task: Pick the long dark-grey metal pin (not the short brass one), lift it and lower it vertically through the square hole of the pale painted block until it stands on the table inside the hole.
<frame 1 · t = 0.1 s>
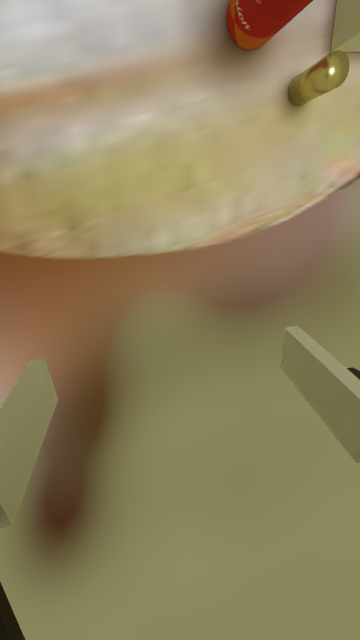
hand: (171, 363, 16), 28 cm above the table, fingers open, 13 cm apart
short pin: (299, 90, 35), on the table
paper cup: (249, 19, 32), on the table
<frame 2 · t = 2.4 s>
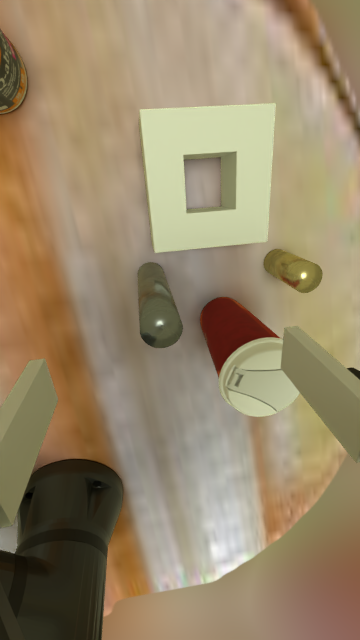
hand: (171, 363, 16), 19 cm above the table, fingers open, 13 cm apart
short pin: (275, 261, 34), on the table
paper cup: (221, 316, 36), on the table
hole block: (199, 184, 29), on the table
long pin: (150, 275, 33), on the table
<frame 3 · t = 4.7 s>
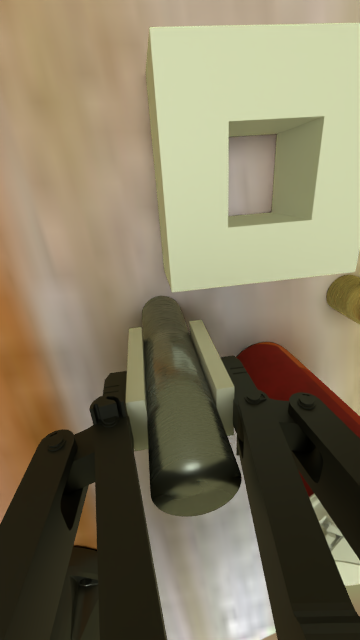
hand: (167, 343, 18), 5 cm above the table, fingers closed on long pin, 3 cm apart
short pin: (343, 292, 23), on the table
paper cup: (260, 367, 26), on the table
hole block: (240, 177, 18), on the table
long pin: (161, 314, 22), on the table, touching gripper
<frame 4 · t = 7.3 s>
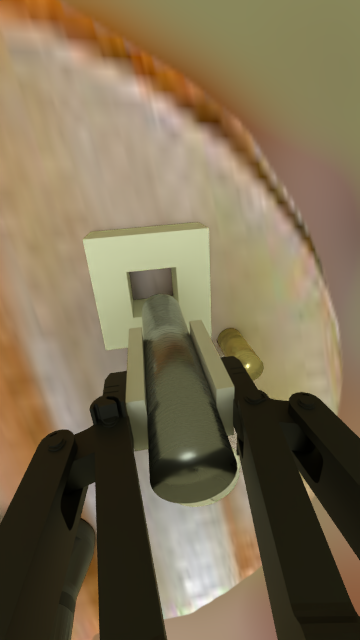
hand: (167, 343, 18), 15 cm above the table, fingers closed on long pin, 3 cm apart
short pin: (229, 338, 36), on the table
paper cup: (180, 386, 39), on the table
hole block: (151, 278, 32), on the table
long pin: (161, 311, 22), point 10 cm above the table, touching gripper
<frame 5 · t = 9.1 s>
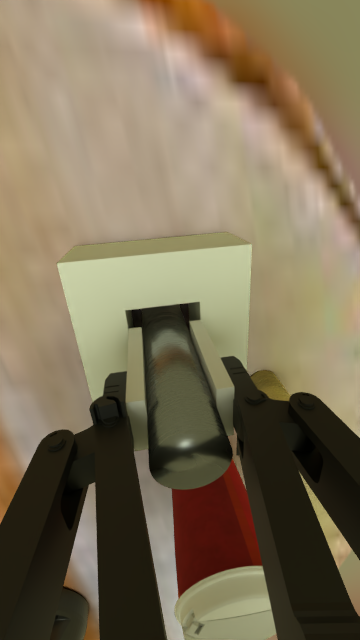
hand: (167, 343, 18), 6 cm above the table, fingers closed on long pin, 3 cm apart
short pin: (261, 383, 28), on the table
paper cup: (196, 440, 30), on the table
hole block: (160, 308, 23), on the table
long pin: (160, 309, 23), resting in hole block, touching gripper
when the fingers open (6 cm above the table, at t = 10.0 s): long pin stays where it is, resting in hole block.
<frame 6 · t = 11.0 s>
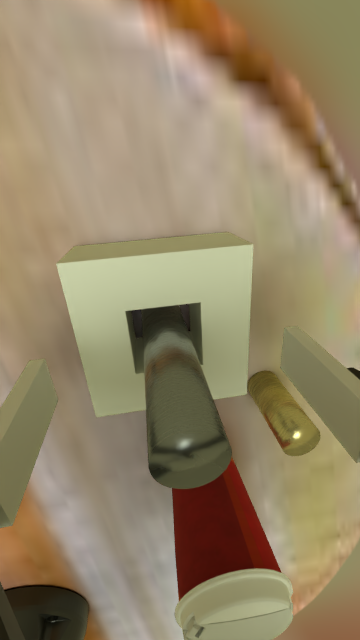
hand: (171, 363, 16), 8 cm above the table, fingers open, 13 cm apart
short pin: (262, 383, 27), on the table
paper cup: (196, 441, 30), on the table
hole block: (160, 309, 23), on the table
long pin: (160, 309, 23), resting in hole block
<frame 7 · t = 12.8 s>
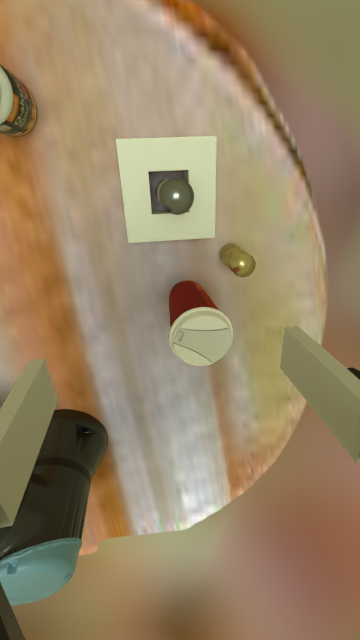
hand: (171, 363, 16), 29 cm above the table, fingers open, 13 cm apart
short pin: (229, 253, 43), on the table
paper cup: (186, 296, 45), on the table
hole block: (166, 191, 38), on the table
pill bottle: (11, 107, 32), on the table
long pin: (166, 191, 38), resting in hole block
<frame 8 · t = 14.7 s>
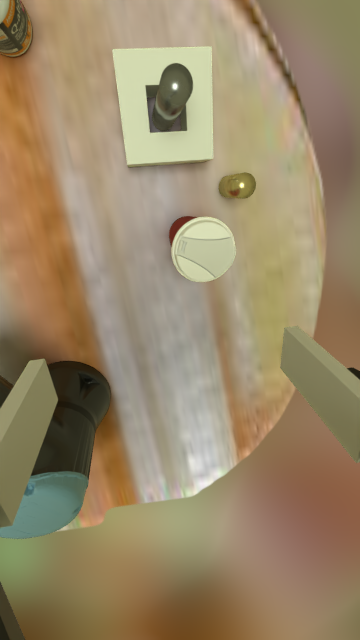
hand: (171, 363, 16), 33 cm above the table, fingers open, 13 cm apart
short pin: (228, 186, 43), on the table
paper cup: (186, 234, 45), on the table
hole block: (163, 117, 38), on the table
pill bottle: (7, 27, 33), on the table
long pin: (163, 118, 38), resting in hole block
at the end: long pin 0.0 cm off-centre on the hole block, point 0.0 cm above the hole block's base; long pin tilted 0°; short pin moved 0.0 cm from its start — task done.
